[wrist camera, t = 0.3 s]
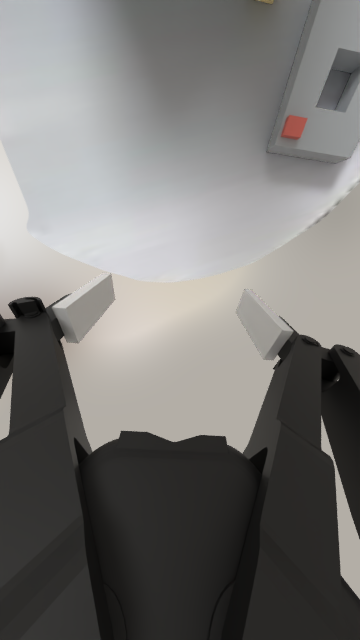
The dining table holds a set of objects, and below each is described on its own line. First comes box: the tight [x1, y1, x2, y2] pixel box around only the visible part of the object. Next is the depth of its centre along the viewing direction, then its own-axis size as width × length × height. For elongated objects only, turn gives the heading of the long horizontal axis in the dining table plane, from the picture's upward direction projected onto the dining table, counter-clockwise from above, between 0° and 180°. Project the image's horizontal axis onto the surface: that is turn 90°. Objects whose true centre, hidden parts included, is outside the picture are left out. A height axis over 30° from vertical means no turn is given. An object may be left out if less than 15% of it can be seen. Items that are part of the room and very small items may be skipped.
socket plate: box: [267, 0, 360, 163], centre depth 23 cm, size 14×14×4 cm
